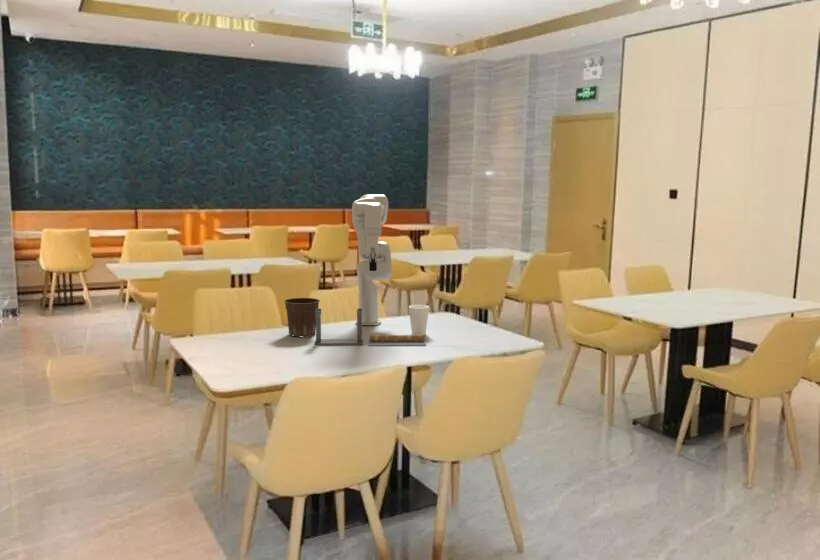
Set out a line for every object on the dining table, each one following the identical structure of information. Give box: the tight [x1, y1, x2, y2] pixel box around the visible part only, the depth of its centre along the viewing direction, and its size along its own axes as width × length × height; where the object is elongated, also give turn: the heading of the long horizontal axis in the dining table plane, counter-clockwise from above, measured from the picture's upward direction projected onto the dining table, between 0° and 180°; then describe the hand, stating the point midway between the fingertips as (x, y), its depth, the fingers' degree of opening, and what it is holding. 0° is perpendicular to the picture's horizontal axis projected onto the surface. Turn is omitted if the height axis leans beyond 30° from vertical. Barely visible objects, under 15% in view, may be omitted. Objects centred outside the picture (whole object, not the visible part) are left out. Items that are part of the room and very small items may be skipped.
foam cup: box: [408, 304, 430, 336], centre depth 333 cm, size 10×9×13 cm
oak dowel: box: [369, 334, 425, 342], centre depth 315 cm, size 24×3×3 cm, turn 92°
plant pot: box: [284, 297, 321, 337], centre depth 330 cm, size 16×16×16 cm
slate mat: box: [368, 338, 427, 347], centre depth 315 cm, size 11×25×1 cm, turn 92°
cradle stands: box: [314, 307, 364, 346], centre depth 313 cm, size 8×21×15 cm, turn 92°
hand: (373, 269), depth 324 cm, fingers open, 9 cm apart
